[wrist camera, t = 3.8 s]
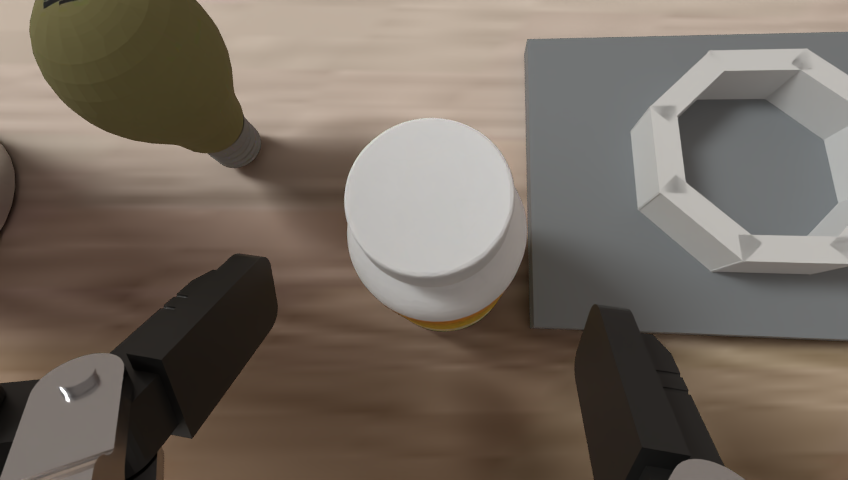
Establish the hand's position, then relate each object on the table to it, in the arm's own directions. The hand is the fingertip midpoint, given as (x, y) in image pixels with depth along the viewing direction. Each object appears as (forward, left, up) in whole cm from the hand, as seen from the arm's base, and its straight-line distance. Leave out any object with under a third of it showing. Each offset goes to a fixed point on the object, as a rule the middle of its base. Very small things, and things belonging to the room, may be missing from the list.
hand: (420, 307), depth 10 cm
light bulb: (-13, +1, -8) cm, 16 cm away
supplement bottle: (-1, +2, -8) cm, 9 cm away
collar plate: (+7, +13, -8) cm, 17 cm away
